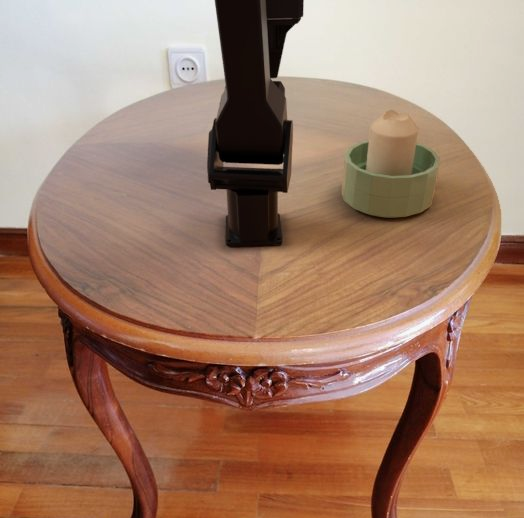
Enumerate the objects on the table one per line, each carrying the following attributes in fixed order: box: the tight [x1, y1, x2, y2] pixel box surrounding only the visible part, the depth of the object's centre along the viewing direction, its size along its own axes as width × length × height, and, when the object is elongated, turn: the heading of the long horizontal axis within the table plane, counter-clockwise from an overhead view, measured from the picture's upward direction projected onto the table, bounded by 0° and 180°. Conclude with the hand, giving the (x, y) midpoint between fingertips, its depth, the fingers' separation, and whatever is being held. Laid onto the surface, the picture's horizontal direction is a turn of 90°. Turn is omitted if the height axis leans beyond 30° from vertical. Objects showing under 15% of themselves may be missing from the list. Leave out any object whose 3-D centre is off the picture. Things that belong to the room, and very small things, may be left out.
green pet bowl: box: [341, 139, 441, 219], centre depth 73 cm, size 11×11×6 cm
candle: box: [366, 109, 419, 176], centre depth 71 cm, size 6×6×10 cm
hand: (270, 66), depth 74 cm, fingers open, 9 cm apart
